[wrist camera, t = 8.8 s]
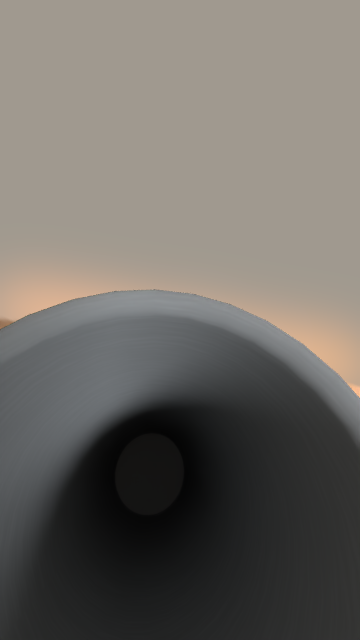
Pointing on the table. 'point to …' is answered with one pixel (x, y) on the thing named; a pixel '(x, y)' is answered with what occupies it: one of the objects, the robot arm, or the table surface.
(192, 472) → the cup
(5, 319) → the table surface
